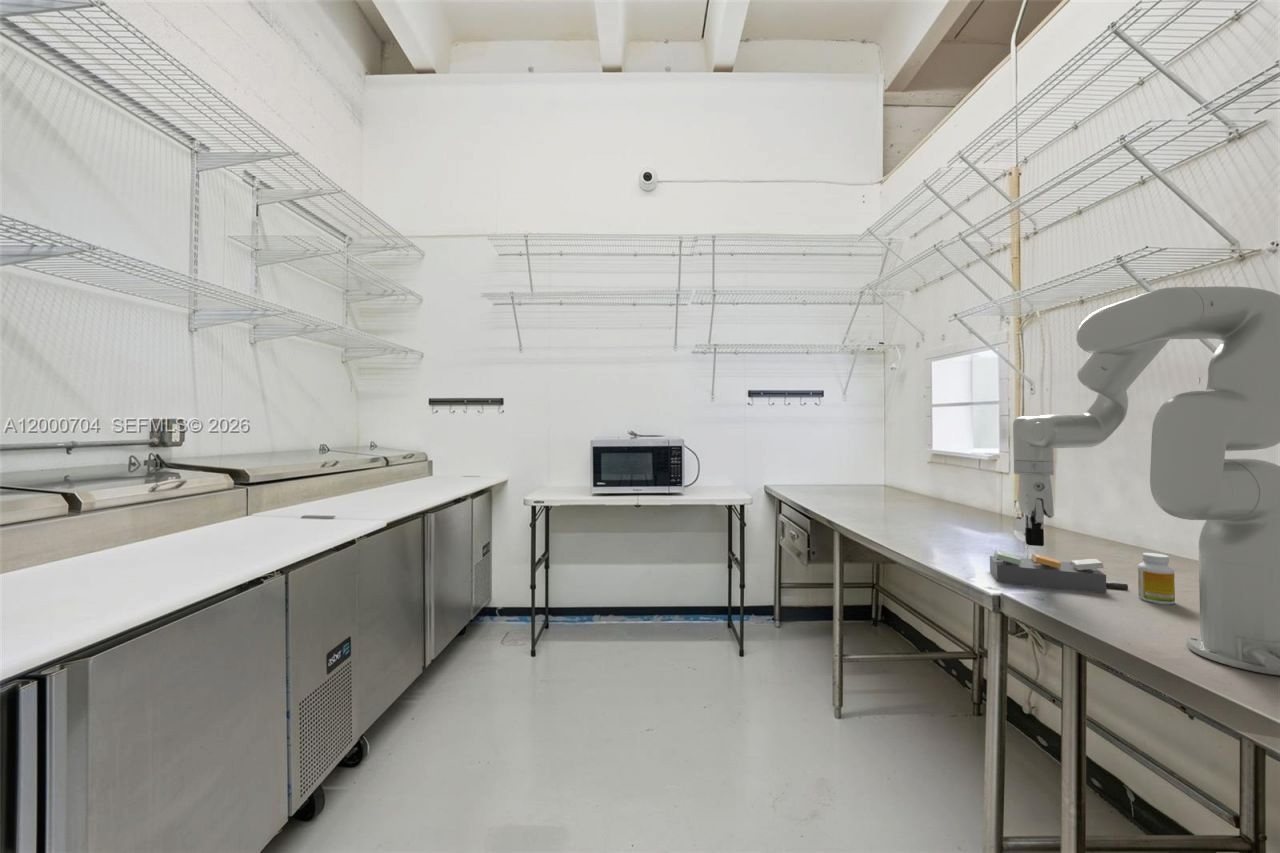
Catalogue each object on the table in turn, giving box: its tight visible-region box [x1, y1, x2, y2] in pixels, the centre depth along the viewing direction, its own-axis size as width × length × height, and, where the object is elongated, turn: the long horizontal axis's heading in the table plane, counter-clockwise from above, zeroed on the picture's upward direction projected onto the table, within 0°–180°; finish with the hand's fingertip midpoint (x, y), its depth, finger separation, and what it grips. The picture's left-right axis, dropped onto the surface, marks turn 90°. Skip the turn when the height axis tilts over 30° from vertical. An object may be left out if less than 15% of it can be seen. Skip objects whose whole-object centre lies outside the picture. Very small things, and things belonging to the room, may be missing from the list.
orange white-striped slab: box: [1030, 553, 1061, 568], centre depth 119 cm, size 4×5×1 cm
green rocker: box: [993, 550, 1021, 565], centre depth 122 cm, size 4×5×1 cm
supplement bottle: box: [1137, 552, 1176, 605], centre depth 106 cm, size 5×5×10 cm
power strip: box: [989, 555, 1129, 594], centre depth 119 cm, size 10×25×4 cm, turn 63°
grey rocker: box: [1070, 558, 1104, 570], centre depth 115 cm, size 4×5×1 cm
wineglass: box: [1013, 516, 1031, 559], centre depth 137 cm, size 6×6×12 cm
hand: (1034, 544), depth 120 cm, fingers closed
